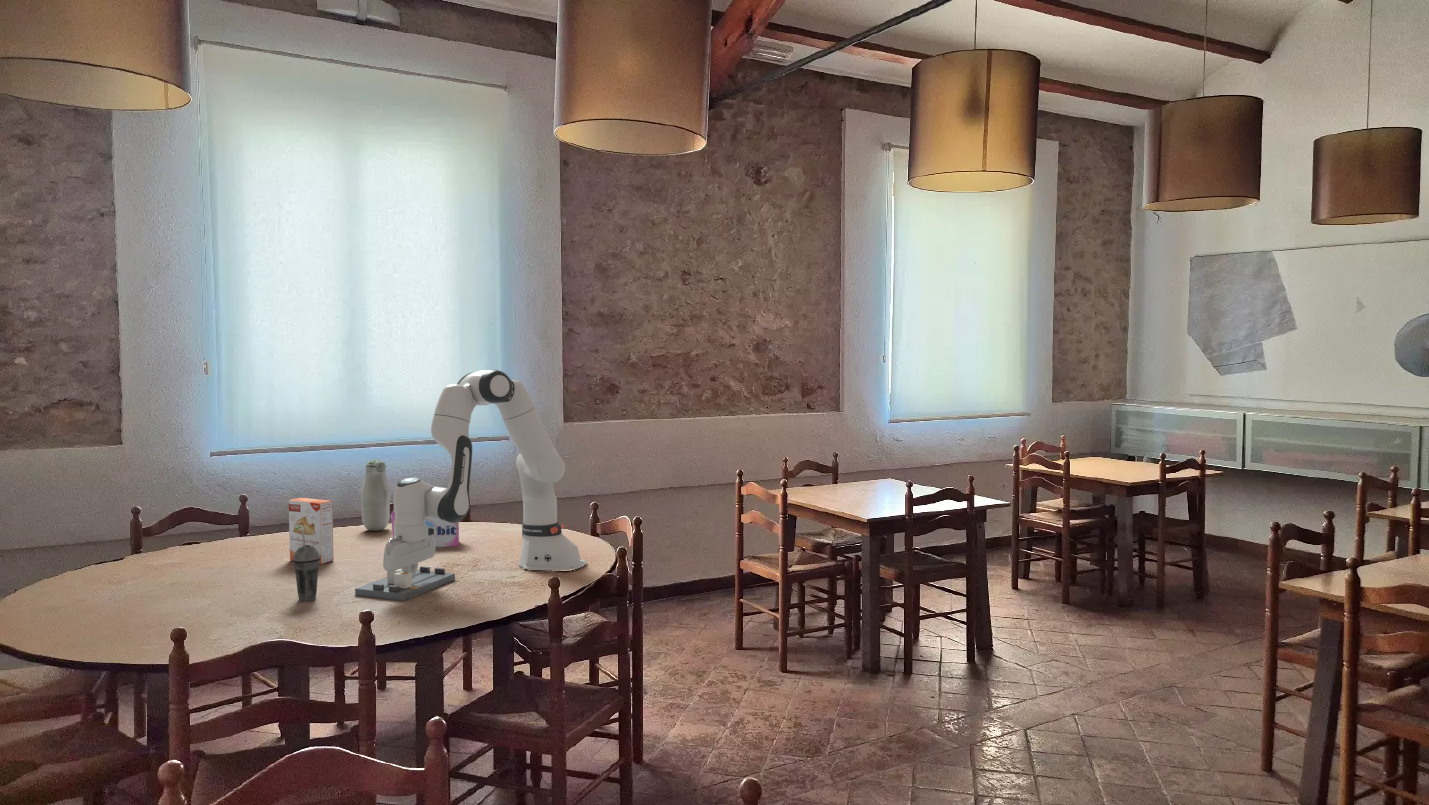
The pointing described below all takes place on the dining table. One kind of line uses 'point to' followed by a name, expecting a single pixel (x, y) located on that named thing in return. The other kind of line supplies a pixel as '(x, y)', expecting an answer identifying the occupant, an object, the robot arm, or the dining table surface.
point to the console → (420, 584)
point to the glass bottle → (375, 496)
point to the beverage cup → (306, 571)
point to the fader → (403, 579)
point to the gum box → (439, 531)
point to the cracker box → (311, 526)
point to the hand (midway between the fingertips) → (409, 579)
